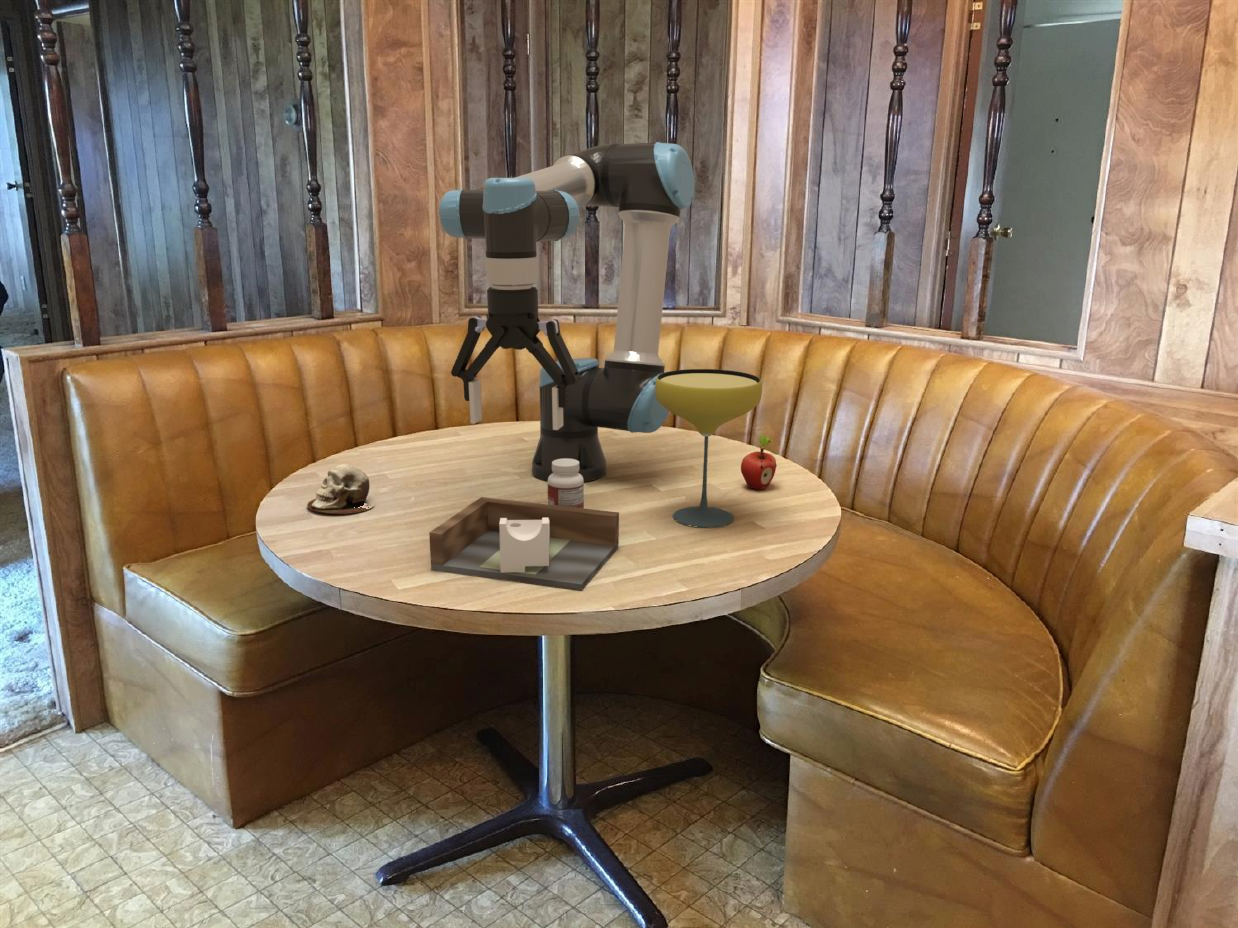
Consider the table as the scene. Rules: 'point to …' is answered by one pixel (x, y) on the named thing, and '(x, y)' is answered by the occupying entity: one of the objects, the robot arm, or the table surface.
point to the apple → (759, 467)
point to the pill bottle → (566, 484)
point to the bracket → (523, 544)
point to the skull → (342, 491)
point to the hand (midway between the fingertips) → (516, 424)
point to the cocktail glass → (707, 419)
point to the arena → (573, 542)
